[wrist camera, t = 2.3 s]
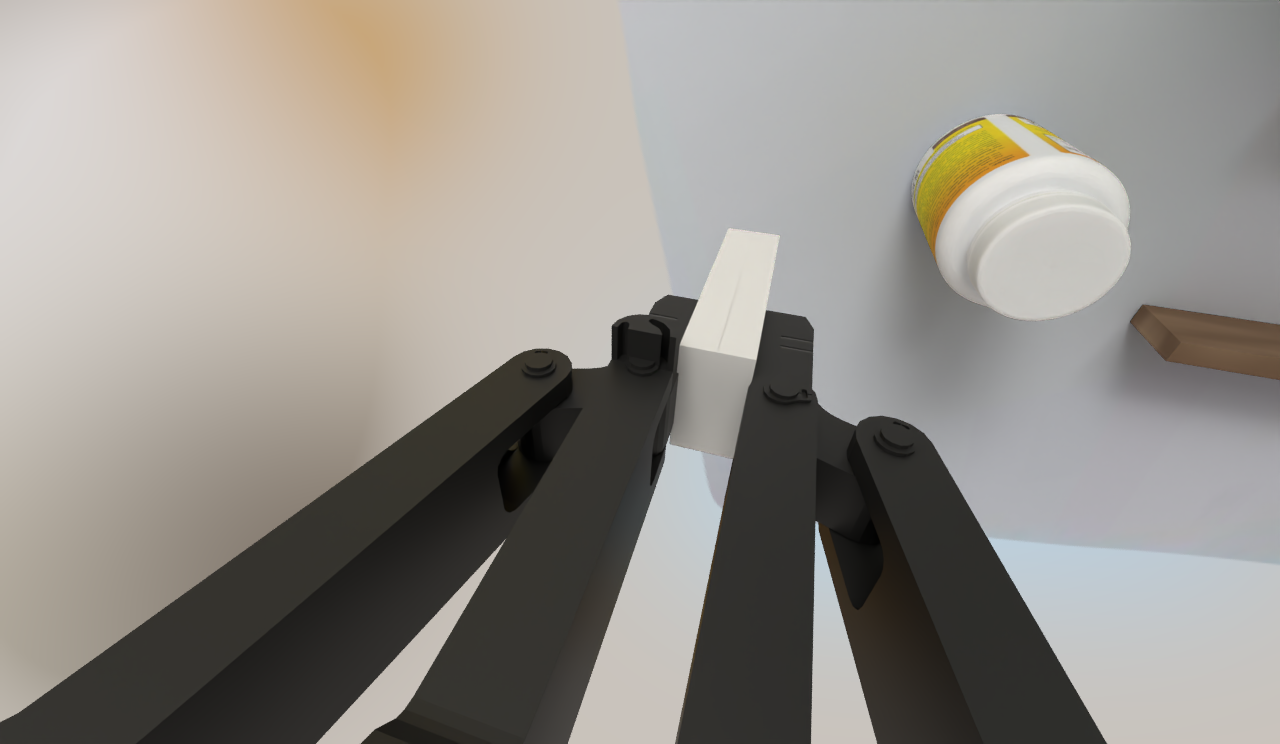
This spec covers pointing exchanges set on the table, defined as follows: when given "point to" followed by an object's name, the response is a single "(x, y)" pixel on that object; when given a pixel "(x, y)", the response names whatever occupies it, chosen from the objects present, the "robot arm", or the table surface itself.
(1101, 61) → the table surface
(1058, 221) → the supplement bottle
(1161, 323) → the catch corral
